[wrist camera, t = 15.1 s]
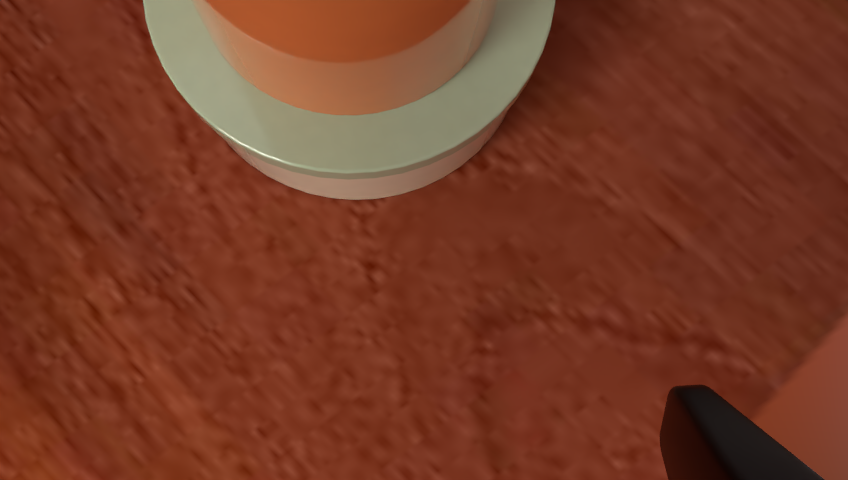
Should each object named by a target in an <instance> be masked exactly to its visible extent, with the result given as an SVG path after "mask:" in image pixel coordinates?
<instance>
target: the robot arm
mask: <svg viewBox="0 0 848 480" xmlns="http://www.w3.org/2000/svg"><path fill="white" fill-rule="evenodd" d="M660 447H661V452H662V456H663V460H664V464H665V468H666V472H667V475H668V479H669V480H824V479H823V478H822V477H820V476H819V475H818V474H817V473H816V472H814V471H813V470H812V469H810V468H809V467H808V466H807V465H805V464H804V463H803V462H802V461H800V460H799V459H798V458H797V457H796V456H794V455H793V454H792V453H791V452H789V451H788V450H787V449H786V448H784V447H783V446H782V445H781V444H779V443H778V442H777V441H775V440H774V439H773V438H772V437H771V436H769V435H768V434H767V433H765V432H764V431H763V430H762V429H761V428H759V427H758V426H757V425H756V424H754V423H753V422H752V421H751V420H749V419H748V418H747V417H746V416H744V415H743V414H742V413H741V412H739V411H738V410H737V409H736V408H734V407H733V406H732V405H731V404H729V403H728V402H727V401H726V400H724V399H723V398H722V397H721V396H719V395H718V394H717V393H716V392H714V391H713V390H712V389H711V388H709V387H707V386H705V385H685V386H675V387H673V388H672V389H671V390H670V391H669V394H668V397H667V402H666V407H665V412H664V416H663V421H662V426H661V431H660Z"/></svg>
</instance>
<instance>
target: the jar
mask: <svg viewBox="0 0 848 480" xmlns="http://www.w3.org/2000/svg"><path fill="white" fill-rule="evenodd" d="M555 1H556V0H498V3H497V7H496V11H495V15H494V18H493V20H492V23H491V25H490V28H489V30H488V32H487V35H486V36H485V38H484V40H483V41H482V43H481V45H480V46H479V48H478V50H477V51H476V52H475V54H474V55H473V56H472V57H471V59H470V60H469V61H468V62H467V64H466V65H465V66H464V67H463V68H462V69H461V70H460V71H459V72H458V73H457V74H456V75H455V76H454V77H452V78H451V79H450V80H449V81H448V82H446V83H445V84H443V85H442V86H441V87H439V88H438V89H437V90H435V91H434V92H432V93H430V94H428V95H426V96H424V97H422V98H421V99H419V100H417V101H414V102H412V103H409V104H407V105H404V106H401V107H399V108H396V109H392V110H387V111H383V112H379V113H373V114H364V115H331V114H323V113H316V112H312V111H308V110H304V109H300V108H297V107H294V106H291V105H289V104H286V103H284V102H281V101H279V100H277V99H275V98H273V97H271V96H269V95H268V94H266V93H264V92H262V91H261V90H259V89H257V88H256V87H255V86H253V85H252V84H251V83H249V82H248V81H247V80H245V79H244V78H243V77H242V76H241V75H240V74H239V73H238V72H237V71H236V70H235V69H234V68H233V67H232V66H231V65H230V64H229V63H228V62H227V61H226V59H225V58H224V57H223V56H222V54H221V53H220V52H219V50H218V49H217V48H216V46H215V44H214V42H213V41H212V39H211V37H210V35H209V34H208V32H207V30H206V28H205V26H204V24H203V22H202V20H201V19H200V17H199V15H198V13H197V11H196V9H195V7H194V5H193V3H192V2H191V0H143V5H144V12H145V19H146V23H147V27H148V30H149V33H150V37H151V40H152V44H153V46H154V49H155V51H156V53H157V55H158V57H159V60H160V62H161V64H162V66H163V68H164V70H165V71H166V73H167V75H168V76H169V78H170V79H171V81H172V82H173V84H174V86H175V87H176V89H177V90H178V92H179V93H180V94H181V96H182V97H183V98H184V100H185V101H186V102H187V103H188V104H189V105H190V107H191V108H192V109H193V110H194V111H195V112H196V114H197V115H198V116H199V117H200V118H201V119H202V120H203V121H204V122H205V123H206V124H207V125H209V126H210V127H211V128H212V129H213V130H214V131H215V132H216V133H218V134H219V135H220V136H221V137H223V138H224V140H225V141H226V142H227V143H228V144H229V145H230V147H231V148H232V149H233V150H234V151H235V152H237V153H238V154H239V155H240V156H241V157H242V158H243V159H244V160H246V161H247V162H248V163H249V164H250V165H252V166H253V167H255V168H256V169H258V170H259V171H261V172H262V173H264V174H265V175H267V176H268V177H270V178H273V179H275V180H277V181H279V182H281V183H283V184H285V185H287V186H289V187H292V188H295V189H298V190H301V191H304V192H306V193H309V194H314V195H319V196H324V197H329V198H337V199H351V200H360V199H378V198H384V197H389V196H395V195H400V194H403V193H406V192H410V191H413V190H416V189H419V188H422V187H424V186H426V185H428V184H431V183H433V182H435V181H437V180H439V179H441V178H443V177H445V176H446V175H448V174H449V173H451V172H452V171H454V170H456V169H457V168H459V167H460V166H462V165H463V164H464V163H465V162H466V161H468V160H469V159H470V158H471V157H472V156H474V155H475V154H476V153H477V152H478V151H479V150H480V149H481V148H482V147H483V146H484V144H485V143H486V142H487V141H488V140H489V139H490V138H491V137H492V135H493V134H494V133H495V131H496V130H497V128H498V127H499V125H500V124H501V122H502V121H503V120H504V118H505V116H506V114H507V112H508V110H509V108H510V107H511V106H512V105H513V104H514V102H515V101H516V99H517V98H518V96H519V95H520V94H521V92H522V91H523V89H524V88H525V86H526V85H527V83H528V82H529V80H530V78H531V76H532V74H533V72H534V70H535V68H536V66H537V64H538V62H539V60H540V57H541V55H542V53H543V50H544V47H545V44H546V41H547V38H548V35H549V32H550V29H551V25H552V19H553V14H554V8H555Z"/></svg>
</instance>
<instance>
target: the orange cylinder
mask: <svg viewBox="0 0 848 480" xmlns="http://www.w3.org/2000/svg"><path fill="white" fill-rule="evenodd" d="M191 2H192V3H193V5H194V7H195V9H196V11H197V13H198V15H199V17H200V19H201V20H202V22H203V24H204V26H205V28H206V30H207V32H208V34H209V35H210V37H211V39H212V41H213V42H214V44H215V46H216V48H217V49H218V50H219V52H220V53H221V54H222V56H223V57H224V58H225V59H226V61H227V62H228V63H229V64H230V65H231V66H232V67H233V68H234V69H235V70H236V71H237V72H238V73H239V74H240V75H241V76H242V77H243V78H244V79H245V80H247V81H248V82H249V83H251V84H252V85H253V86H255V87H256V88H257V89H259V90H261V91H262V92H264V93H266V94H268V95H269V96H271V97H273V98H275V99H277V100H279V101H281V102H284V103H286V104H289V105H291V106H294V107H297V108H300V109H304V110H308V111H312V112H316V113H323V114H331V115H364V114H373V113H379V112H383V111H387V110H392V109H396V108H399V107H401V106H404V105H407V104H409V103H412V102H414V101H417V100H419V99H421V98H422V97H424V96H426V95H428V94H430V93H432V92H434V91H435V90H437V89H438V88H439V87H441V86H442V85H443V84H445V83H446V82H448V81H449V80H450V79H451V78H452V77H454V76H455V75H456V74H457V73H458V72H459V71H460V70H461V69H462V68H463V67H464V66H465V65H466V64H467V62H468V61H469V60H470V59H471V57H472V56H473V55H474V54H475V52H476V51H477V50H478V48H479V46H480V45H481V43H482V41H483V40H484V38H485V36H486V35H487V32H488V30H489V28H490V25H491V23H492V20H493V18H494V15H495V11H496V7H497V3H498V0H191Z"/></svg>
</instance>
